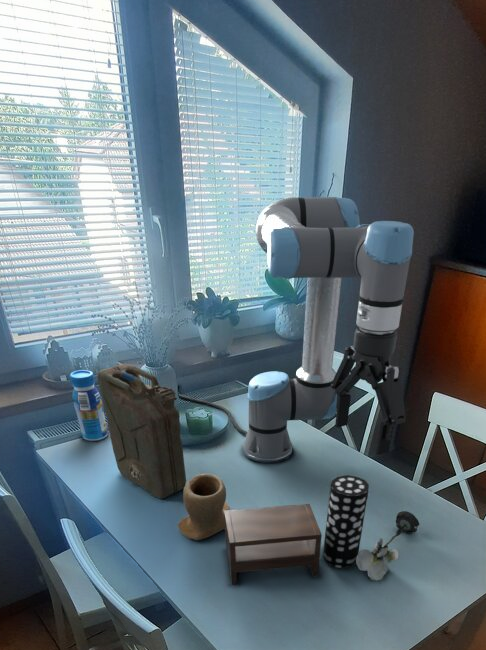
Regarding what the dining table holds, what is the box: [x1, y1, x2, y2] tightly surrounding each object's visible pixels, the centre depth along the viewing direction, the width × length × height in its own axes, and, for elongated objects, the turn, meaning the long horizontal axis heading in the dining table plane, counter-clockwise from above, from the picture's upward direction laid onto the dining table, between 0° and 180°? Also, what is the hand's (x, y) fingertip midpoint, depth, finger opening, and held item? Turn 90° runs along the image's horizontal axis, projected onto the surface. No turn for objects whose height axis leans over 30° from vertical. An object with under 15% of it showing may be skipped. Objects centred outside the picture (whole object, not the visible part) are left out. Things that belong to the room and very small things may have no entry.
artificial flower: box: [355, 510, 420, 581], centre depth 123 cm, size 9×22×10 cm, turn 141°
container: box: [97, 363, 187, 499], centre depth 138 cm, size 22×10×30 cm, turn 47°
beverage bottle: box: [69, 369, 109, 442], centre depth 161 cm, size 8×8×20 cm
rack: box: [224, 503, 323, 585], centre depth 118 cm, size 12×20×12 cm, turn 100°
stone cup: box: [177, 473, 231, 541], centre depth 127 cm, size 15×12×15 cm
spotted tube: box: [322, 474, 370, 569], centre depth 118 cm, size 8×8×20 cm
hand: (360, 438), depth 106 cm, fingers open, 13 cm apart
